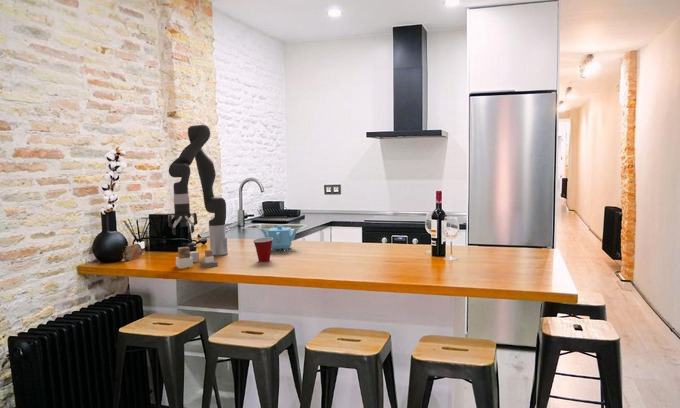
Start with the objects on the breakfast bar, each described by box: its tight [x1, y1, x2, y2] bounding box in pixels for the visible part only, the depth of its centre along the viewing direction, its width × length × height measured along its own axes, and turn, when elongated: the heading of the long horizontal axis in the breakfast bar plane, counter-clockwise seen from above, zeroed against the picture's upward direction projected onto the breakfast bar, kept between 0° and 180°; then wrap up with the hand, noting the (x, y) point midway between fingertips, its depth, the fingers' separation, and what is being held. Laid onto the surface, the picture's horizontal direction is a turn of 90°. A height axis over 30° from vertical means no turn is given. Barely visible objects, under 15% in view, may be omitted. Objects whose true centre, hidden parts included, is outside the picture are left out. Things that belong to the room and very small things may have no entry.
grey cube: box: [190, 250, 200, 263], centre depth 277 cm, size 5×5×5 cm
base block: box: [175, 256, 194, 270], centre depth 263 cm, size 7×7×5 cm
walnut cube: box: [177, 246, 191, 259], centre depth 263 cm, size 5×5×5 cm
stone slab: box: [122, 243, 143, 262], centre depth 287 cm, size 15×3×8 cm, turn 168°
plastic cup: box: [252, 236, 273, 263], centre depth 272 cm, size 11×11×12 cm
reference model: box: [200, 249, 219, 269], centre depth 263 cm, size 7×7×8 cm
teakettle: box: [259, 224, 301, 252], centre depth 306 cm, size 19×19×15 cm
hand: (183, 233), depth 262 cm, fingers open, 8 cm apart
